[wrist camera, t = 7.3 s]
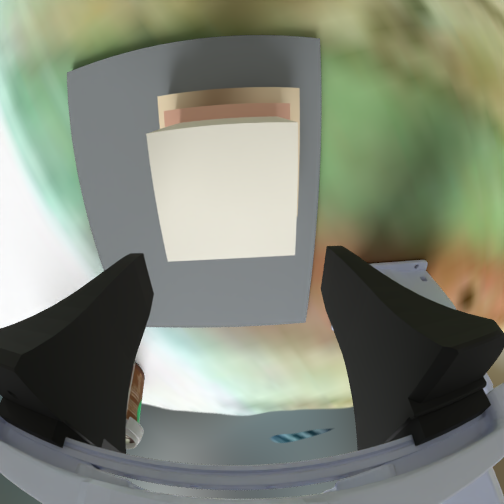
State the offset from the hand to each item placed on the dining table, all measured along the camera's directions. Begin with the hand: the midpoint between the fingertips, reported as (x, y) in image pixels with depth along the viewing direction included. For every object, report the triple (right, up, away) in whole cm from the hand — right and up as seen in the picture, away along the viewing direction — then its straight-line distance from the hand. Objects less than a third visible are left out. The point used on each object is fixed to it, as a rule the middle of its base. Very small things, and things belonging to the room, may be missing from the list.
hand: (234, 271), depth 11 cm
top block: (0, +5, +2) cm, 6 cm away
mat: (-4, +4, +9) cm, 11 cm away
